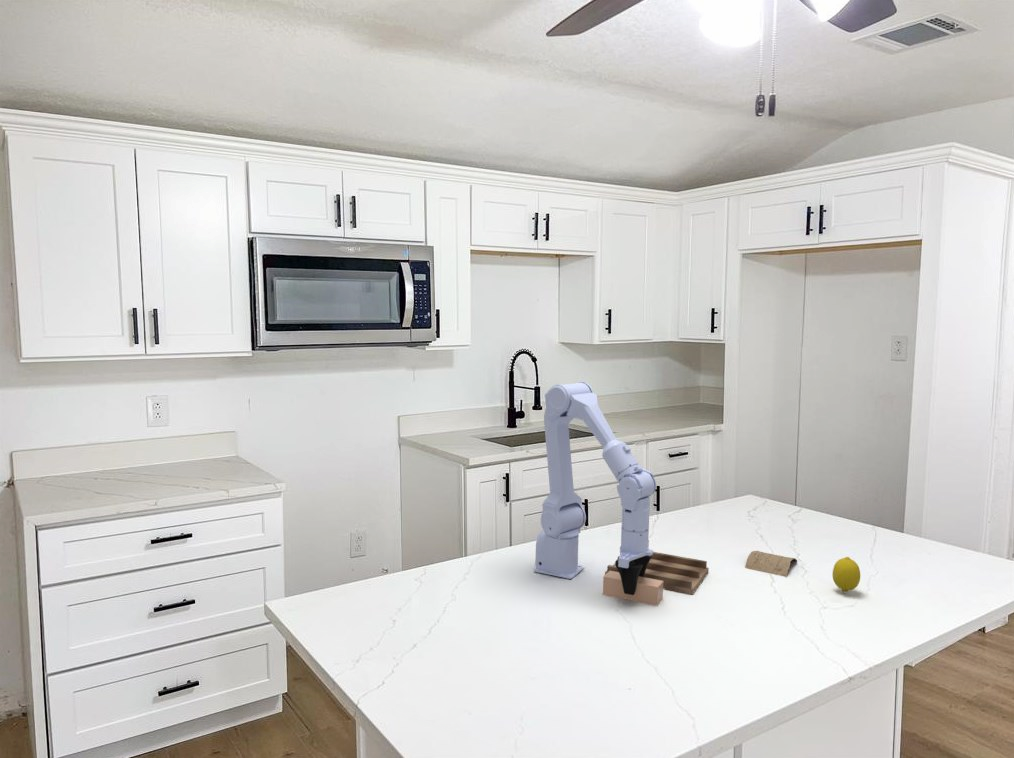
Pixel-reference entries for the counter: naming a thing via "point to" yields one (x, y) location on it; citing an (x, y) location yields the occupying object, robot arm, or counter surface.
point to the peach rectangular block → (645, 589)
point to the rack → (674, 572)
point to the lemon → (846, 574)
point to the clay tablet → (768, 563)
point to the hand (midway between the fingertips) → (632, 590)
